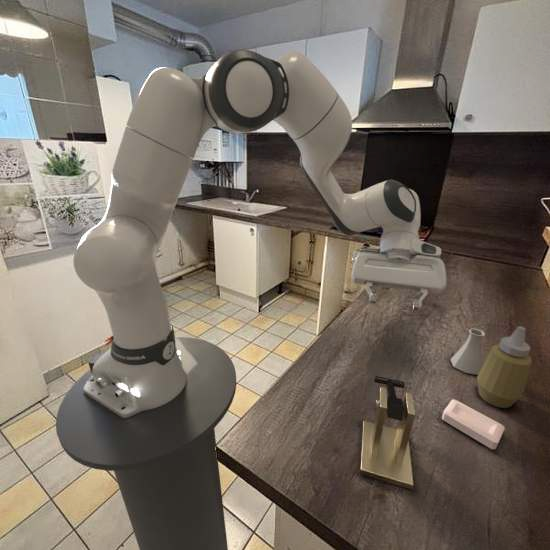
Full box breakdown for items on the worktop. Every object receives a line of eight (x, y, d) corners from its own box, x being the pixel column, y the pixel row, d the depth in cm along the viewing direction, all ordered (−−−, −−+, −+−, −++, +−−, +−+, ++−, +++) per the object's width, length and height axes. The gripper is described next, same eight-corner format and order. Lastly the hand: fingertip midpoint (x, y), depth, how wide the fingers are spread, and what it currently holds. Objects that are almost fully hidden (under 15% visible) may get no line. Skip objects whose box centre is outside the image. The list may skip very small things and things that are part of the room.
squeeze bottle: (493, 381, 68) (518, 315, 61) (527, 409, 61) (560, 337, 53) (463, 387, 66) (486, 319, 59) (495, 416, 59) (525, 342, 52)
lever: (373, 383, 59) (375, 372, 59) (402, 389, 58) (404, 378, 57) (376, 415, 47) (378, 400, 47) (413, 424, 45) (415, 409, 45)
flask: (484, 379, 68) (496, 344, 64) (449, 368, 72) (459, 334, 68) (483, 362, 74) (494, 329, 70) (450, 352, 78) (460, 320, 74)
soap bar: (450, 405, 61) (453, 396, 60) (502, 434, 55) (506, 425, 54) (440, 420, 58) (443, 411, 57) (494, 452, 52) (498, 442, 51)
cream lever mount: (362, 424, 57) (371, 373, 52) (406, 436, 55) (420, 383, 50) (360, 474, 48) (370, 418, 43) (412, 490, 46) (429, 433, 41)
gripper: (354, 240, 70) (346, 294, 65) (449, 249, 64) (448, 308, 60) (353, 252, 76) (346, 302, 71) (441, 261, 70) (439, 316, 65)
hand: (393, 305), depth 65 cm, fingers open, 8 cm apart
